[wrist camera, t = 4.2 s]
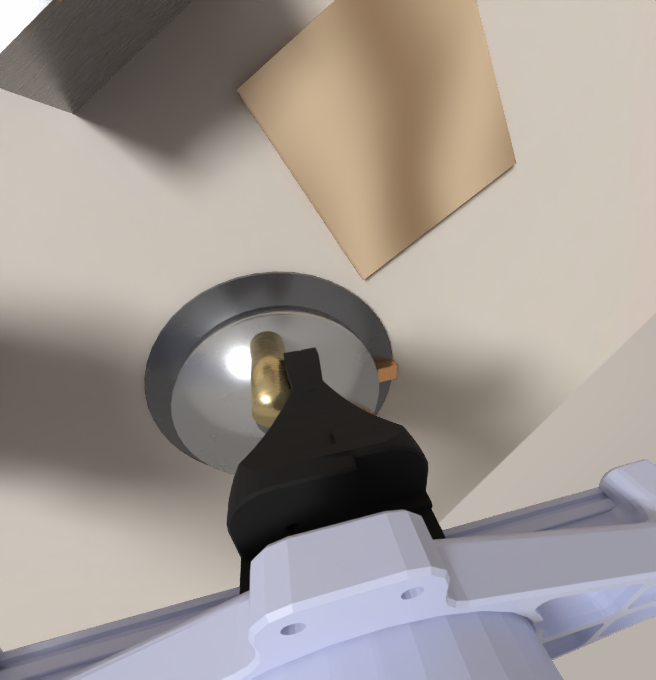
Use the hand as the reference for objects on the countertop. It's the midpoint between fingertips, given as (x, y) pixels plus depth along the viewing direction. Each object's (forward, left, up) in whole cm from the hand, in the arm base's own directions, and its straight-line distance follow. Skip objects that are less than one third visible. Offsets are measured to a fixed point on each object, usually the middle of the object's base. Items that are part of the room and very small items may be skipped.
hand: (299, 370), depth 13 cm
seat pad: (+9, +4, -4) cm, 11 cm away
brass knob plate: (-3, -3, -4) cm, 6 cm away
